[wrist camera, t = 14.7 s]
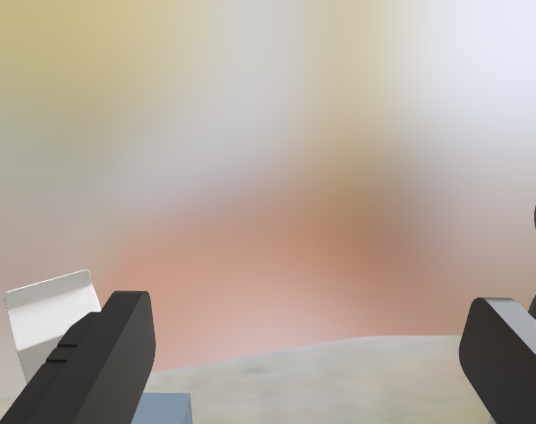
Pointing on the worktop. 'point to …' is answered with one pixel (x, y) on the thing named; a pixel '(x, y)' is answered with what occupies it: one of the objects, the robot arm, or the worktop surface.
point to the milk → (47, 315)
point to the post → (163, 409)
